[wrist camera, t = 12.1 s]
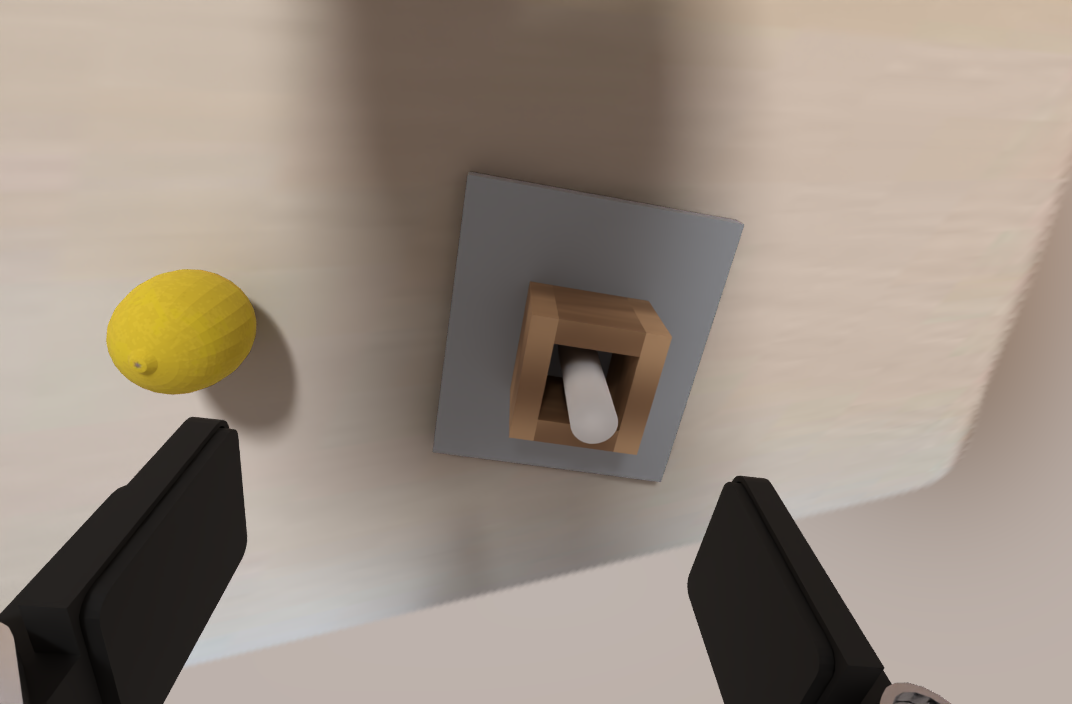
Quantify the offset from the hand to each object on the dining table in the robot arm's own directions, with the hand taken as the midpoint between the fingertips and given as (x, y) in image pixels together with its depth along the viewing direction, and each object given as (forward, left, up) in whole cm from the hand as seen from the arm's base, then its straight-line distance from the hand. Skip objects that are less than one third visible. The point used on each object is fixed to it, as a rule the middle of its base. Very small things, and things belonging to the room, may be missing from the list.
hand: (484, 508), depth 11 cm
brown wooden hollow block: (+4, +5, -20) cm, 21 cm away
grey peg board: (+4, +5, -21) cm, 22 cm away
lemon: (+5, -14, -21) cm, 26 cm away
